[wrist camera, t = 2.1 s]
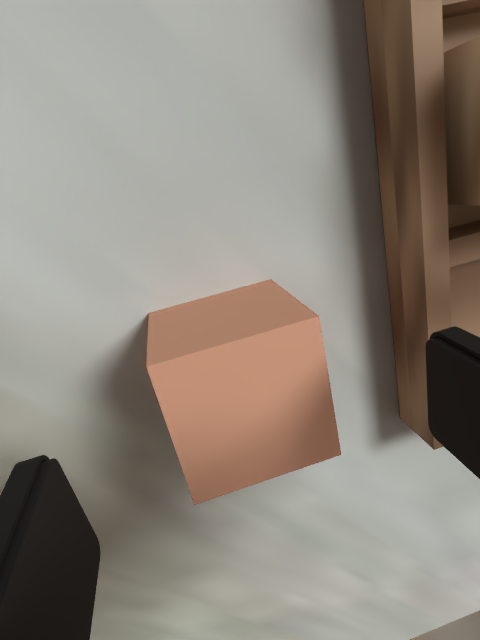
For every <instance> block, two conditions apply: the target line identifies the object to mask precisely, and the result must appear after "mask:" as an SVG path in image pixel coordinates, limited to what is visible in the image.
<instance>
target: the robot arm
mask: <svg viewBox="0 0 480 640" xmlns="http://www.w3.org/2000/svg"><path fill="white" fill-rule="evenodd" d="M425 350H426V378H427V405H428V426H429V429H430V432H431V434H432V435H433V436H434V438H435V439H436V440H437V441H438V442H440V443H441V444H442V445H443V446H444V447H445V448H446V449H447V450H448V451H450V452H451V453H452V454H453V455H454V456H455V457H456V458H457V459H458V460H459V461H461V462H462V463H463V464H464V465H465V466H466V467H467V468H468V469H469V470H470V471H472V472H473V473H474V474H475V475H476V476H477V477H478V478H479V479H480V337H478V336H476V335H474V334H471V333H469V332H467V331H465V330H463V329H461V328H459V327H456V326H454V327H450V328H446V329H443V330H440V331H437V332H434V333H432V334H431V336H430V339H429V340H428V341H427V342H426V346H425ZM99 562H100V545H99V541H98V539H97V537H96V535H95V533H94V531H93V529H92V527H91V525H90V523H89V521H88V519H87V517H86V515H85V513H84V511H83V509H82V507H81V505H80V503H79V501H78V499H77V497H76V495H75V493H74V491H73V489H72V487H71V486H70V484H69V482H68V480H67V478H66V476H65V474H64V472H63V470H62V468H61V466H60V464H59V462H58V461H57V460H56V459H54V458H53V459H50V460H49V458H48V457H47V456H45V455H42V456H38V457H35V458H32V459H29V460H26V461H22V462H19V463H17V464H16V465H15V466H14V468H13V470H12V472H11V474H10V476H9V479H8V481H7V483H6V485H5V487H4V489H3V491H2V493H1V496H0V640H89V639H90V632H91V624H92V616H93V608H94V601H95V593H96V585H97V577H98V569H99ZM410 640H480V611H477V612H475V613H473V614H470V615H468V616H465V617H463V618H461V619H458V620H456V621H454V622H451V623H449V624H446V625H444V626H442V627H439V628H437V629H434V630H432V631H430V632H427V633H425V634H422V635H420V636H418V637H415V638H413V639H410Z"/></svg>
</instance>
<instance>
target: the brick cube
mask: <svg viewBox="0 0 480 640" xmlns="http://www.w3.org/2000/svg"><path fill="white" fill-rule="evenodd" d="M146 368H147V370H148V373H149V376H150V379H151V382H152V385H153V388H154V390H155V393H156V396H157V399H158V402H159V405H160V408H161V410H162V413H163V416H164V419H165V422H166V425H167V428H168V431H169V433H170V436H171V439H172V442H173V445H174V448H175V451H176V453H177V456H178V459H179V462H180V465H181V468H182V471H183V473H184V476H185V479H186V482H187V485H188V488H189V491H190V493H191V496H192V499H193V502H194V505H195V504H198V503H201V502H204V501H207V500H210V499H213V498H216V497H219V496H222V495H224V494H227V493H230V492H233V491H236V490H239V489H242V488H245V487H248V486H251V485H254V484H257V483H260V482H263V481H265V480H268V479H271V478H274V477H277V476H280V475H283V474H286V473H289V472H292V471H295V470H298V469H301V468H304V467H306V466H309V465H312V464H315V463H318V462H321V461H324V460H327V459H330V458H333V457H336V456H339V455H341V450H340V444H339V438H338V431H337V425H336V419H335V413H334V406H333V400H332V394H331V388H330V381H329V375H328V369H327V363H326V356H325V350H324V344H323V338H322V332H321V325H320V319H319V316H318V315H317V314H316V313H314V312H313V311H312V310H310V309H309V308H308V307H306V306H305V305H304V304H303V303H301V302H300V301H299V300H297V299H296V298H295V297H293V296H292V295H291V294H290V293H288V292H287V291H286V290H284V289H283V288H282V287H280V286H279V285H278V284H276V283H275V282H274V281H273V280H271V279H270V280H266V281H263V282H259V283H256V284H252V285H248V286H245V287H241V288H238V289H234V290H230V291H227V292H223V293H220V294H216V295H212V296H209V297H205V298H201V299H198V300H194V301H191V302H187V303H183V304H180V305H176V306H173V307H169V308H165V309H162V310H158V311H155V312H151V313H149V319H148V341H147V362H146Z"/></svg>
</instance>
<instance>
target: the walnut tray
mask: <svg viewBox="0 0 480 640" xmlns="http://www.w3.org/2000/svg"><path fill="white" fill-rule="evenodd" d="M364 10H365V21H366V33H367V44H368V55H369V67H370V78H371V90H372V101H373V112H374V124H375V135H376V147H377V158H378V169H379V181H380V192H381V204H382V215H383V226H384V238H385V249H386V261H387V272H388V283H389V295H390V306H391V318H392V329H393V340H394V352H395V363H396V375H397V386H398V397H399V409H400V418H401V419H402V420H403V421H404V422H405V423H406V424H407V425H408V426H409V427H410V428H411V429H412V430H413V431H415V432H416V433H417V434H418V435H419V436H420V437H421V438H422V439H423V440H424V441H425V442H426V443H427V444H428V445H430V446H431V447H432V448H433V449H434V450H435V449H438V448H440V447H443V445H442V444H441V443H440V442H438V441H437V440H436V439H435V438H434V436H433V435H432V434H431V432H430V429H429V426H428V405H427V378H426V350H425V346H426V342H427V341H428V340H429V339H430V336H431V334H432V333H434V332H437V331H440V330H443V329H446V328H450V327H454V326H456V327H459V328H461V329H463V330H465V331H467V332H469V333H471V334H474V335H476V336H478V337H480V0H364Z"/></svg>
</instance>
